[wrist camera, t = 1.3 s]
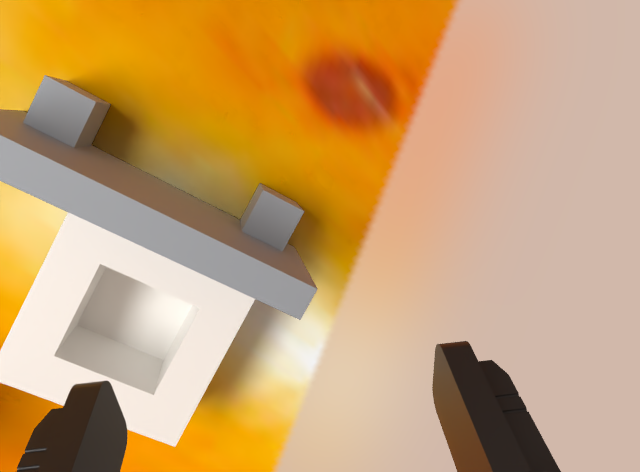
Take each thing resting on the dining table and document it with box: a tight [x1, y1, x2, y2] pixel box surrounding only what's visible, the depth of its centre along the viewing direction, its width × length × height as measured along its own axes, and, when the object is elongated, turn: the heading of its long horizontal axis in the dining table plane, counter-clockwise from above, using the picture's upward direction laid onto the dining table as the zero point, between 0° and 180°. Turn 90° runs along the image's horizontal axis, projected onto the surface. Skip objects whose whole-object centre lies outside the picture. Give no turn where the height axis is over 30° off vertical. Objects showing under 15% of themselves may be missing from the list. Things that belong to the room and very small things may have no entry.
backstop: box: [0, 75, 317, 320], centre depth 31 cm, size 20×5×10 cm, turn 61°
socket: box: [0, 212, 255, 447], centre depth 35 cm, size 12×12×6 cm
